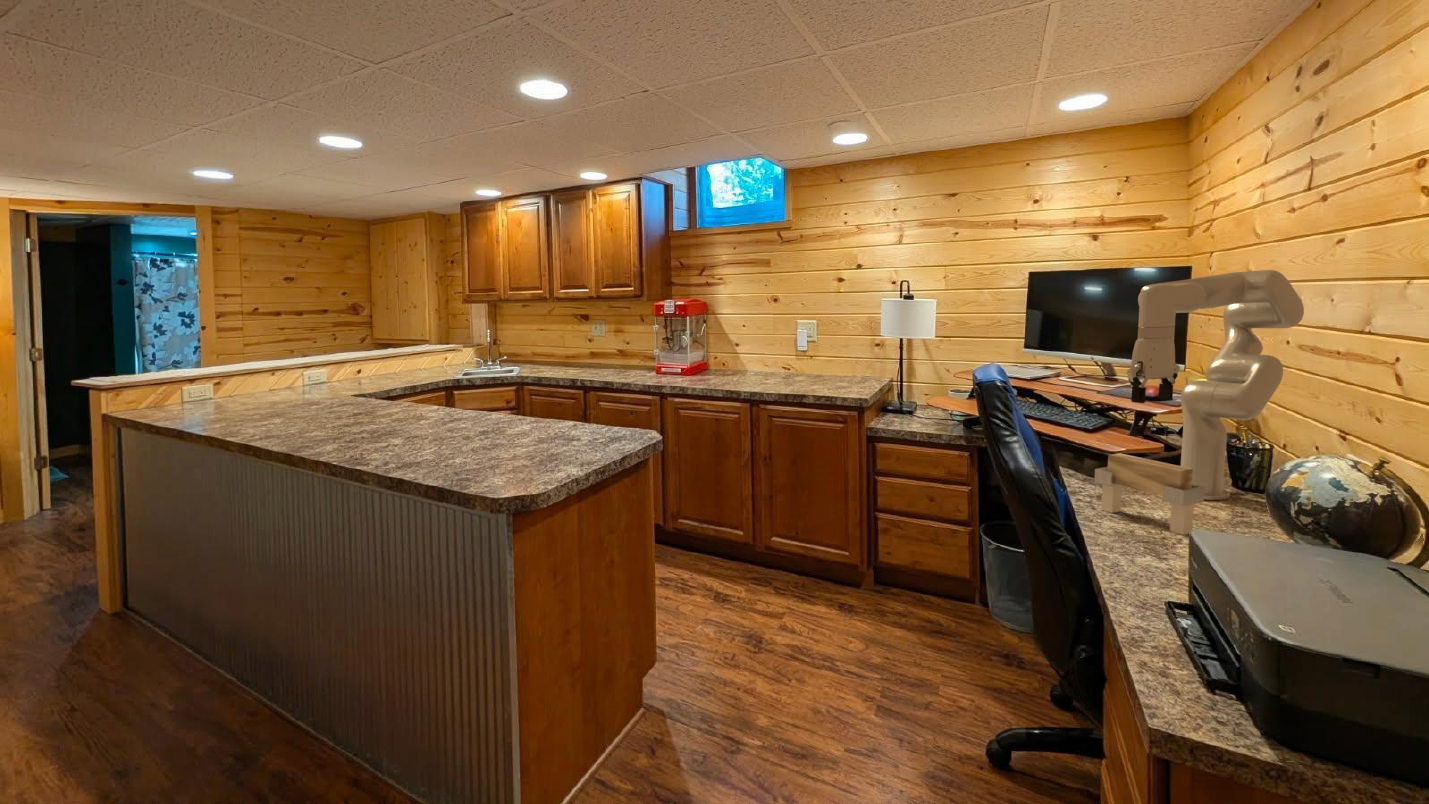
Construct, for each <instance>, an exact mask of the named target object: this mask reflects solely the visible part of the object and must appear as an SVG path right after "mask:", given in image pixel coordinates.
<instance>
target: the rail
mask: <svg viewBox="0 0 1429 804" xmlns="http://www.w3.org/2000/svg"><path fill="white" fill-rule="evenodd" d="M1107 467H1108V472H1112V473H1113V483H1115V484H1118V485H1122V487H1127V488H1130V489H1134V490H1138V491H1140V492H1141V491H1142V492H1145V493H1149V494H1153V495H1158V496H1162V497H1163V487H1164V486H1165V485H1166V486H1170V487H1174V488H1178V489H1182V490H1185V489H1190V488H1192V476H1193V469H1191V468H1187V467H1182V466H1181V465H1176V464H1171V463H1168V462H1163V461H1158V460H1153V459H1148V458H1144V457H1140V456H1139V457H1138V456H1135V455H1130V454H1124V453H1119V452H1118V453H1112V454H1108V456H1107Z"/></svg>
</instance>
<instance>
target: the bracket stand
mask: <svg viewBox="0 0 1429 804" xmlns="http://www.w3.org/2000/svg"><path fill="white" fill-rule="evenodd" d="M1094 483H1095V484H1098V485H1101V486H1102V489H1101V490H1102V491H1101V508H1100V509H1101V510H1102V511H1105V512H1107V513H1111V514H1113V513H1120V512H1121V509H1122V490H1123V486H1122V485H1118V484H1115V483H1113V473H1112V472H1108V466H1106V467H1099V468H1095V469H1094ZM1204 491H1205V487H1203V486H1198V485H1194V484H1192V488H1190V489H1185V490H1182V489H1178V488H1174V487H1170V486H1166V485H1165V486H1164V487H1163V496H1162V502H1167V503H1170V504H1171V509H1170V520H1169V522H1170V523H1169V531H1170V532H1172V533H1176V534H1179V535H1182V536H1183V535H1189V534H1188V533H1189V531H1190V530H1192V531H1193V525H1194V513H1195V512H1194V509H1195V505H1197V504H1201V503H1202V504H1203V503H1204V501H1205V499H1204Z"/></svg>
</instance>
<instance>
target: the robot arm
mask: <svg viewBox="0 0 1429 804" xmlns="http://www.w3.org/2000/svg"><path fill="white" fill-rule="evenodd" d="M1137 304H1138V306H1139V309H1138V325H1137V327H1138V329H1137V339H1135V342H1134V347H1133V350H1132V355H1131V356H1132V357H1131V362H1130V367H1129V369H1127V370H1126V375H1127V377H1128V381H1129V383H1130V387H1131V400H1130V401H1131V403H1134V404H1135V403H1137V404H1145V403H1146V393H1147V392H1146V391H1147V387H1145V385H1146V383H1147V382H1148V381H1149V380H1158V379H1159V380H1160V382H1161V383H1159V384H1158V385H1159V386H1158V399H1159V400H1165V401H1172V400H1173V396H1174V395H1173V392H1174V385H1175V384H1176V380H1177V378H1178V374H1179V371H1180V369H1181V367H1180V366H1179V365H1178V364H1177V363H1176V347H1175V345H1176V344H1175V329H1176V316H1177V315H1176V314H1181V313H1182V314H1185V313H1187V314H1188V313H1192V312H1196V311H1199V310H1201V309H1202V310H1205V309H1206V310H1207V309H1214V308H1220V307H1224V306H1225V308H1224V309H1223V313H1222V314H1223V315H1222V318H1223V320H1222V321H1223V327H1224V336H1225V337H1224V338H1225V339H1224V343H1223V344H1222V346H1221V348H1220V349H1219V350H1218V352H1217V353H1216V355H1214V357H1213V359H1212V360H1211V361H1210V363H1209V364H1208V367H1207V368H1206V371H1205V375H1204V376H1205V380H1195V381H1192V382H1190V383H1187V384H1186V385H1184V387H1183V388H1182V389H1181V393H1180V406H1181V410H1182V417H1183V418H1182V419H1183V424H1182V426H1183V428H1182V440H1181V442H1182V443H1181V456H1180V466H1182V467H1187V468H1191V469H1193V476H1192V484H1194V485H1198V486H1203V487H1205V491H1204V501H1205V500H1206V501H1208V500H1209V501H1223V500H1227V499H1229V498H1230V497H1231V496H1230V494H1231V493H1230V492H1229V491H1228V490H1226V489H1224V488H1225V486H1228V485H1231V484H1232V483H1233V480H1232V478H1230V477H1225V465H1226V454H1227V453H1226V451H1227V439H1228V433H1227V429H1226V426H1225V425H1224V423H1223V421H1222V420H1221V419H1229V420H1230V419H1231V420H1237V421H1250V420H1253V419H1255V418H1256V417H1258V416H1259V415H1260V414H1261V412H1262V411H1263V410H1264V408H1265V407H1266V406H1267V404H1268V403H1269V401H1270V400H1271V398H1272V397H1273V395H1274V394H1275V392H1276V391H1277V389H1278V388H1279V386H1280V384H1281V382H1282V379H1283V375H1284V366H1283V363H1282V362H1281V360H1280V359H1279V358H1277V357H1275V356H1273V355H1271V354H1270V355H1269V354H1262V352H1263V350H1264V349H1263V348H1264V347H1263V344H1262V342H1261V341H1260V338H1259V337H1258V336H1257V335H1255V333H1253V331H1252V329H1289V328H1293V327H1295V326H1297V325H1299V323H1300V322H1301V321H1302V320H1303V318H1304V316H1305V315H1304V314H1305V310H1304V309H1305V306H1304V304H1303V301H1302V299H1301V298H1300V296H1299V294H1298V293H1297V292H1296V290H1295V288H1294V287H1293V285H1292V283H1291V282H1290V281H1289V280H1288V278H1287V277H1286V276H1285V275H1284V274H1282V273H1281V272H1280V271H1278V270H1273V269H1265V270H1263V269H1262V270H1251V271H1250V270H1249V271H1236V272H1229V273H1228V272H1227V273H1222V274H1215V275H1208V276H1200V277H1195V278H1194V277H1193V278H1188V279H1182V280H1175V281H1165V282H1159V283H1151V284H1148V285H1145V286H1143V287H1142V288H1141V290H1140V293H1139V294H1138V297H1137Z"/></svg>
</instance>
